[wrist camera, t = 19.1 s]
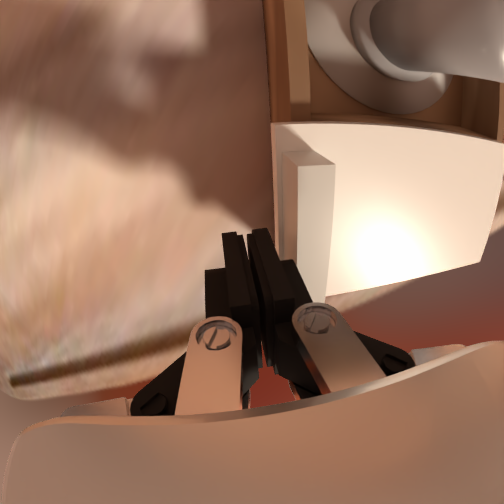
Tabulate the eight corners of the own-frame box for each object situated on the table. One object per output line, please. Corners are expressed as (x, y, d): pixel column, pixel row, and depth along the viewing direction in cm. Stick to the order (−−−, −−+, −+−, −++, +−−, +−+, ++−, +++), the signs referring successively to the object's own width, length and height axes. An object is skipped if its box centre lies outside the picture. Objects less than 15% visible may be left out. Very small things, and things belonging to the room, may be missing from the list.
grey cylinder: (422, -15, 9) (521, -29, 2) (431, 87, 12) (540, 115, 6) (341, -40, 8) (433, -94, 1) (352, 74, 12) (470, 81, 5)
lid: (499, 141, 11) (532, 156, 9) (473, 256, 15) (497, 278, 13) (270, 122, 10) (290, 133, 7) (276, 294, 14) (289, 335, 12)
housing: (452, -20, 8) (491, -25, 5) (445, 225, 19) (477, 252, 16) (255, -73, 7) (269, -108, 4) (275, 247, 18) (291, 288, 14)
